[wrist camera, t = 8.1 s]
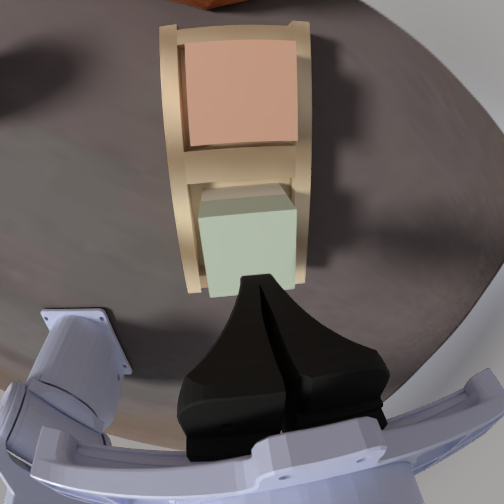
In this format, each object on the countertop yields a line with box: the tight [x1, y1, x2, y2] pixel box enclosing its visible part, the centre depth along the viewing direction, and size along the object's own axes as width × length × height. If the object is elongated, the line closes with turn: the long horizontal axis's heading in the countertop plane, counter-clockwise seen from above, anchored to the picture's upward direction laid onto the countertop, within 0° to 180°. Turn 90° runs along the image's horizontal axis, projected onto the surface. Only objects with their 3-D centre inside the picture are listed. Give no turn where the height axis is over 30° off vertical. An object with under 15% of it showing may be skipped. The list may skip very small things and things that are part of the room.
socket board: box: [159, 21, 312, 293], centre depth 18 cm, size 18×9×3 cm, turn 2°
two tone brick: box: [198, 183, 297, 298], centre depth 18 cm, size 5×5×5 cm
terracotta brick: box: [185, 40, 298, 146], centre depth 14 cm, size 5×5×5 cm
